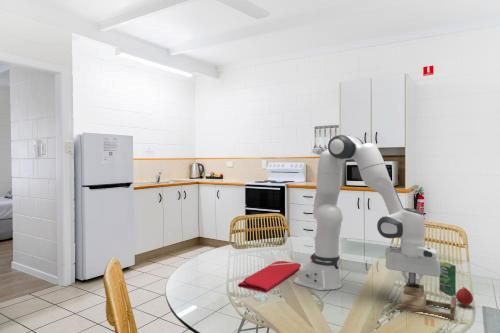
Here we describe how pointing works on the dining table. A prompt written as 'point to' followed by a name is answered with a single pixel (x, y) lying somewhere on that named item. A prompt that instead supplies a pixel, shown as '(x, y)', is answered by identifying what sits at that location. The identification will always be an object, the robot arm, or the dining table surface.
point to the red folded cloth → (270, 276)
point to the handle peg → (412, 280)
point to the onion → (464, 297)
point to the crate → (414, 296)
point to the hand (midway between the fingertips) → (412, 283)
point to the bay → (434, 303)
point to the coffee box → (447, 278)
